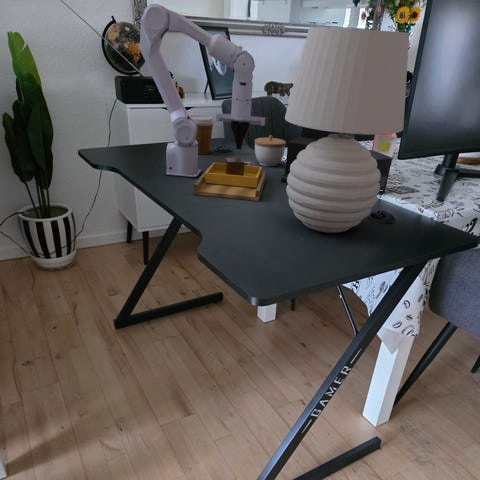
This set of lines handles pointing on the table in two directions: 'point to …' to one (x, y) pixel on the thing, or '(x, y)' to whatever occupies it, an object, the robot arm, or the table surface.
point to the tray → (218, 175)
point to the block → (234, 166)
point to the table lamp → (344, 121)
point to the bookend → (302, 145)
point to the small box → (382, 168)
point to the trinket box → (269, 150)
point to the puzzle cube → (384, 143)
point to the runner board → (229, 189)
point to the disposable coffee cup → (203, 132)
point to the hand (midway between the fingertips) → (238, 148)
